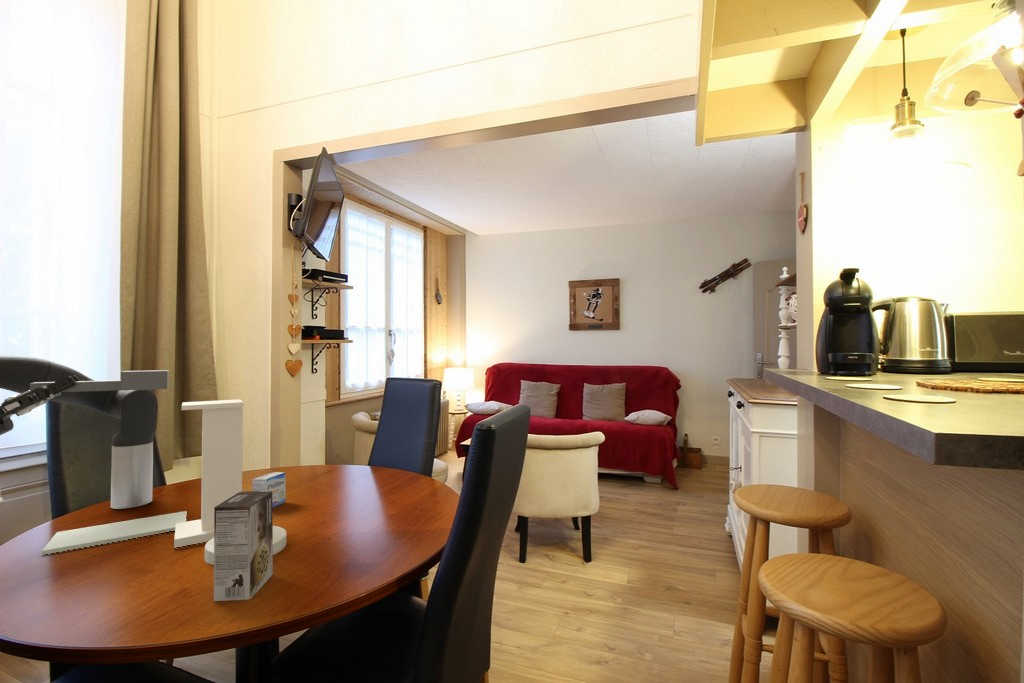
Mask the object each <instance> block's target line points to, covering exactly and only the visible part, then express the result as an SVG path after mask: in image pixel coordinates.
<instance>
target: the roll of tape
mask: <svg viewBox="0 0 1024 683" xmlns="http://www.w3.org/2000/svg"><path fill="white" fill-rule="evenodd" d="M286 545H287V530H286V529H284V528H283V527H280V526H277V525H273V555H276V554H278V553H279V552H281V551H282V550H284V548H286ZM204 561H205V563H207V564H209V565H212V566H214V538H212V539H211V540H210V541H208V542H206V543H205V545H204Z"/></svg>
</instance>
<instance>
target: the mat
mask: <svg viewBox="0 0 1024 683" xmlns="http://www.w3.org/2000/svg"><path fill="white" fill-rule="evenodd" d="M187 512H188V511H187V510H184V511H178V512H171V513H165V514H159V515H153V516H148V517H140V518H134V519H130V520H129V519H128V520H124V521H117V522H116V521H115V522H111V523H106V524H105V523H104V524H99V525H92V526H87V527H80V528H74V529H69V530H61V531H56V533H55V534H54V535H53V536H52V538H51V539H50V540H49V541H48V543H47V544H46V545H45V547H44V548H43V549H42V551H41V556H42V555H43V556H46V555H45V554H48V555H52V554H51V553H54V554H57V553H56V552H59V553H64V552H63V551H65V552H68V551H67V550H70V551H74V550H73V549H76V550H79V549H78V548H81V549H85V548H84V547H87V548H91V547H90V546H92V547H96V546H95V545H98V546H102V545H101V544H103V545H107V543H109V544H113V543H112V542H114V543H119V542H118V541H120V542H124V541H123V540H125V541H129V540H128V539H131V540H133V539H132V538H136V539H138V538H137V537H142V538H144V537H143V536H147V535H153V534H158V533H164V532H169V531H175V528H176V523H182V522H187V518H186V517H187V516H188V514H187ZM169 533H170V532H169ZM164 534H165V533H164ZM158 535H159V534H158ZM153 536H154V535H153ZM147 537H148V536H147Z"/></svg>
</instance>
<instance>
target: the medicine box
mask: <svg viewBox="0 0 1024 683" xmlns="http://www.w3.org/2000/svg"><path fill="white" fill-rule="evenodd" d="M252 491H261V492H267V491H272V509H274V508H277V506H281V505H282V503H283V504H285V503H286V472H284V471H282V472H280V471H273V472H270V473H267V474H264V475H261V476H258V477H256V478H252ZM284 502H285V503H284ZM273 507H274V508H273Z"/></svg>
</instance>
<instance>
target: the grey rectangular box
mask: <svg viewBox="0 0 1024 683" xmlns="http://www.w3.org/2000/svg"><path fill="white" fill-rule="evenodd" d="M273 509H274V508H272V491H267V492H261V491H253V490H252V491H242V492H238V493H237V494H235V495H234V496H232V497H230V498H229V499H227V500H225V501H224V502H222V503H221V504H219V505H217V506H216V507H214V565H213V601H214V602H226V601H247V600H248V601H249V600H251V599H252V598H253V597H255V595H256V594H257V593H258V592H259V590H261V588H262V587H263V586H264V585H265V584H266V583H267V581H269V579H270V578H272V576H273V573H274V572H273V571H274V568H273V563H274V561H273V559H274V558H273V526H274V525H273V524H274V523H273V522H274V521H273V517H274V516H273V511H274V510H273Z"/></svg>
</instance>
